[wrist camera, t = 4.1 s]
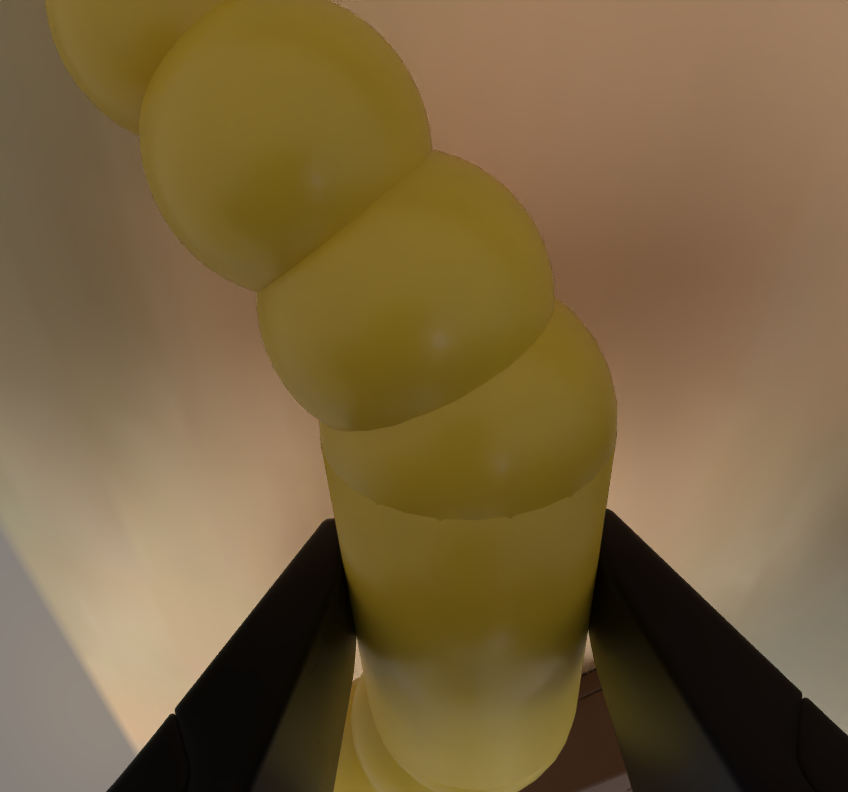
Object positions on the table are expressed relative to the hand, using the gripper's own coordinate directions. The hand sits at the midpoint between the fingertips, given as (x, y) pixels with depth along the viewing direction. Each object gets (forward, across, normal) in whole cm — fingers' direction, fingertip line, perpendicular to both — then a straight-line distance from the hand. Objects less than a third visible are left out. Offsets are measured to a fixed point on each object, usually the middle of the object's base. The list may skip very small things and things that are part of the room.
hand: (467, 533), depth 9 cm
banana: (+1, +1, 0) cm, 1 cm away
